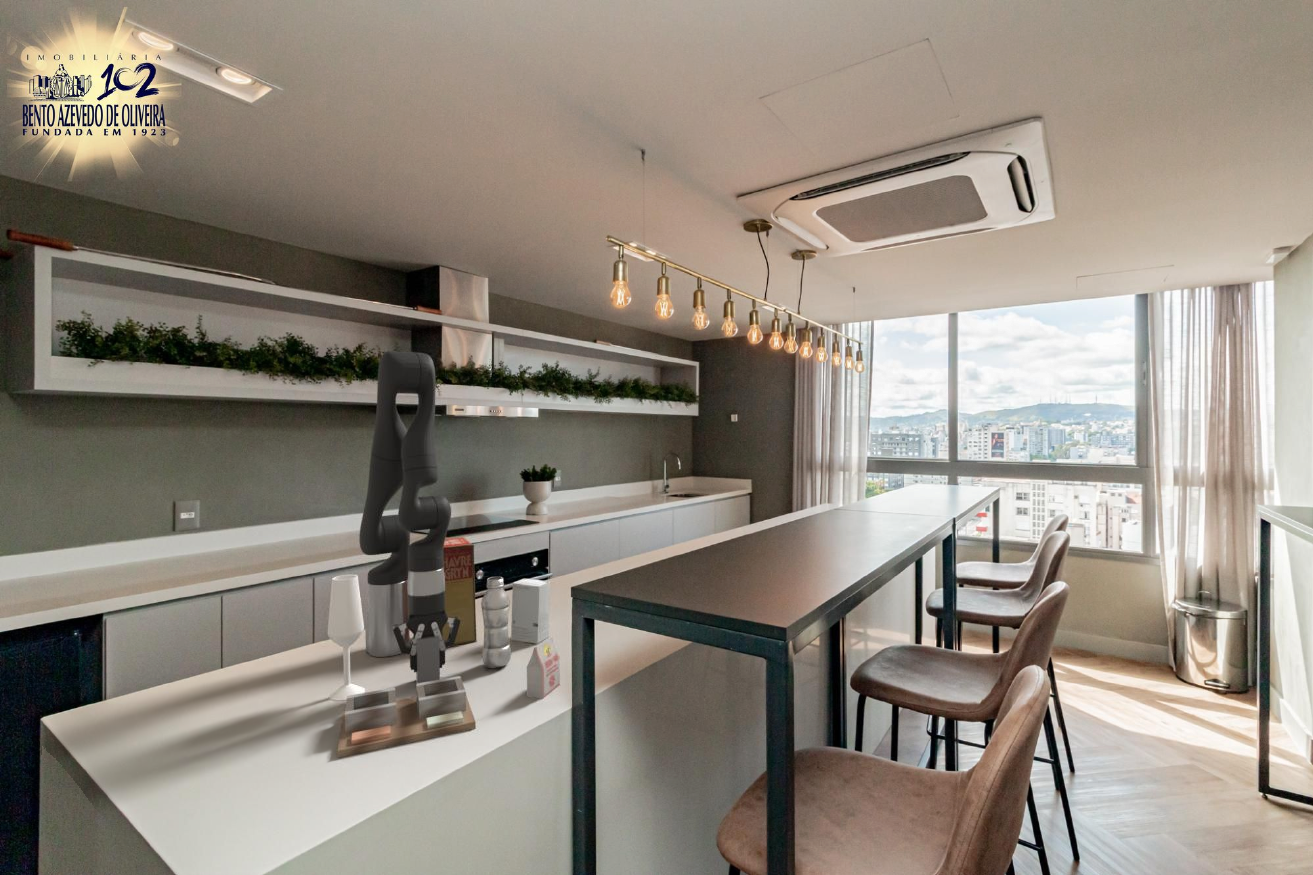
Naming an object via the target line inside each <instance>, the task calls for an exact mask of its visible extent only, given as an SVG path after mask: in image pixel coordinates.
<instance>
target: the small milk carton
mask: <svg viewBox="0 0 1313 875" xmlns="http://www.w3.org/2000/svg"><path fill="white" fill-rule="evenodd" d="M560 660H561V658H560V655H559V653H558V650H557V648H556V645H555V642H554V638H553V637H552V636H549V637H548V638H547V639H545V640H543V641H542V642H540V643H538V644H537V645H536V646H535V647H533V650H532V654H531V657H530V659H529V660H528V664H527V665H526V696H527V697H532V698H538V699H544V698H546V697H547V696H549V694H551V693H552V692H553V691H555V689H557V688H558V687H559V686H561V684H560V683H561V681H560V680H561V676H560V675H561V671H560V669H561V667H560V665H561V663H560Z"/></svg>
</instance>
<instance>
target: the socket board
mask: <svg viewBox="0 0 1313 875" xmlns="http://www.w3.org/2000/svg"><path fill="white" fill-rule="evenodd" d="M415 685H416V689H415V690H416V691H415V692H416V695H415V696H414V697H413V696H412V697H408V698H401V699H397V696H396V687H391V688H390V687H389V688H385V689H378V690H374V691H369V692H364V693H361V694H356V695H350V696H347V700H345V709H343V710H341V711H342V712H341V720H340V728H339V729H340V731H339V736H338V746H337V747H338V748H337V758H338V759H339V758H343V757H348V756H354V755H358V754H364V753H366V752H367V753H368V752H371V751H377V750H382V749H385V748H391V747H395V746H400V745H404V744H405V745H406V744H408V743H414V742H418V741H424V740H427V739H432V738H437V737H443V736H447V735H450V734H455V733H460V732H465V731H471V730H474V729H476V720H475V716H474V714H473V710H472V708H471V705H470V702H469V700H468V697H467V692H466V688H465V686H464V683H463V680H462V677H461V675H459V676H452V677H448V678H440V680H434V681H429V682H423V683H418V684H417V683H415Z"/></svg>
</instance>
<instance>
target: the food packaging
mask: <svg viewBox="0 0 1313 875" xmlns="http://www.w3.org/2000/svg"><path fill="white" fill-rule="evenodd" d="M443 568H444V575H445V610H446V614H447V616H449V617H455V616H458V617H459V619H460V625H459V629H458V632H457V636H456V639H455V643H454V645H455V646H460V645H465V644H470V643H475V642H477V620H476V619H477V616H476V580H475V578H476V577H475V545H474V544H473V543H471V542H470V541H469V540H468V539H466V538H465V537H464V536H463V537H452V538H445V542H444V547H443ZM450 629H451V627H450V626H449V622H446V624H445V625H444V627H443V628H442V630H441V631H440V633H441V636H442V638H443V641H445V640H447V639H448V636H449V632H450ZM454 645H453V646H452V647H454Z"/></svg>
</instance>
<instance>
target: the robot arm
mask: <svg viewBox="0 0 1313 875" xmlns="http://www.w3.org/2000/svg"><path fill="white" fill-rule="evenodd" d="M434 364H435V363H434V361H433V359H432V357H431V355H429V354H427V353H424V352H411V351H396V350H393V351H392V350H387V351H385V352H383V354H381V357H380V359H379V364H378V370H377V371H378V372H377V388H376V389H377V392H376V414H375V424H374V431H373V437H372V445H371V450H370V452H371V453H370V459H369V474H368V481H367V492H366V498H365V504H364V507H363V512H362V517H361V522H360V528H359V539H358V540H359V547H360V551H361V552H362V554H364V555H366V556H378V555H388V554H390V556H389V557H388V558H387V560H385V561H383V562H382V563H380V564H379V565H376V566H374V567H373V568H370V570H369V571H368V573H367V610H368V611H367V612H366V613H365V615H364V618H365V620H364V622H365V623H364V630H365V632H364V633H365V653H368V654H369V655H370V656H371V657H377V658H378V657H379V658H380V657H381V658H382V657H383V658H385V657H392V656H397V655H400V654H402V655H405V654H406V655H409V667H410V671H413V673H416V672H417V653H416V652H417V639H421V638H423V637H430V636H435V637H437V636H439V658H440V669H443V666H444V665H445V664H446V649H448V648H449V647H450V648H451V647H454V646H453V645H454V643H455V639H456V636H457V632H458V629H459V625H460V619H459V617H458V616H455V617H449V616H447V614H446V610H445V575H444V568H443V547H444V542H445V539H447V538H446V537H447V534H448V530H449V525H450V522H451V517H452V507H451V503H450V502H449V500H448V499H447V498H446V497H445V496H443V495H431V496H420V497H419V496H418V494H419V491H420V489H422V488H425V487H428V486H432V485H434V484H436V483H437V481H438V480H439V471H438V462H437V454H436V444H435V420H436V418H435V417H436V383H437V382H436V381H437V380H436V369H435V365H434ZM398 394H406V395H407V394H410V395H412V394H413V395H417V397H418V404H417V410H416V414H415V416H414V418H413V420H412V422H411V424H410V426H409V427H408V428H407V427H406V425H405V423H404V422H403V421H402V419H401V417H400V414H399V413H398V409H397V395H398ZM400 489H402V491H401V496H400V501H399V507H398V510H397V511H398V514H388V515H384V511H385V509H386V507H387V505H388V504H389V502H390V501H391V500H392V498H394V497H395V495H396V494H397V493H398V492H399V490H400ZM425 530H429V531H428V533H427V534H426V536H425V537H424V538H421V539H419V540H416V541H413V542H412V543H411V532H418V531H425ZM446 622H449V626H450V627H451V629H450V632H449V636H448V639H447V640H445V641H443V638H442V636H441V633H440V631H441V630H442V628H443V627H444V625H445V624H446ZM410 632H411V633H412V639H410V638H411V636H410V635H411V634H410ZM410 640H411V641H410ZM410 642H411V643H410Z"/></svg>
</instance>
